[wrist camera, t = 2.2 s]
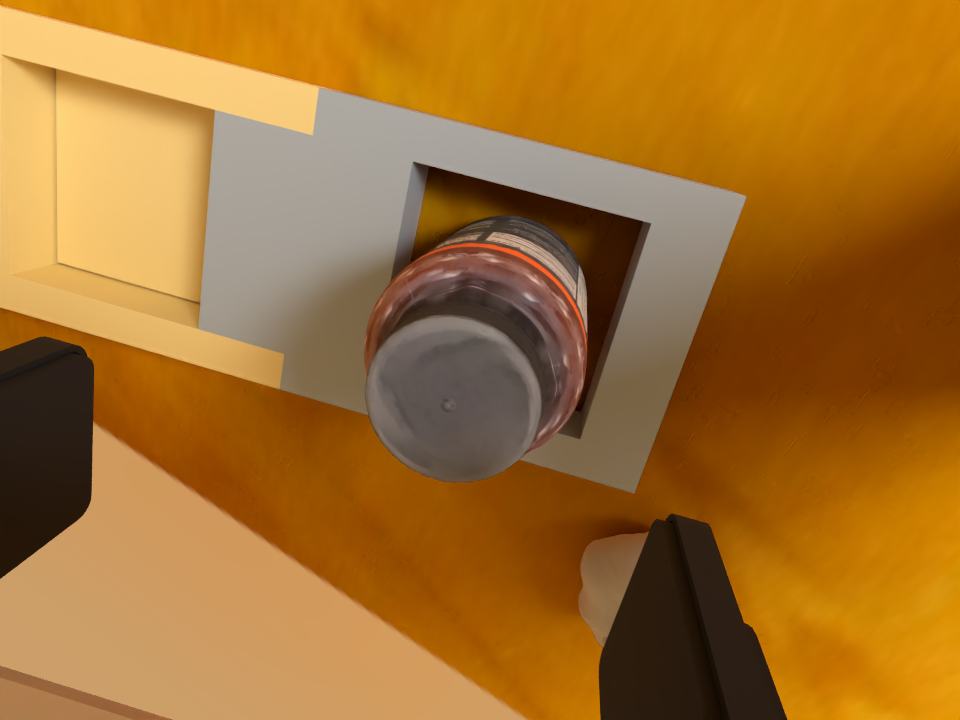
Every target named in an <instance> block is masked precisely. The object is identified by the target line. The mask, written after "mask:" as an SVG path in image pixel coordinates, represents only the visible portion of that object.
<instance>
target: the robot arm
mask: <svg viewBox="0 0 960 720" xmlns="http://www.w3.org/2000/svg"><path fill="white" fill-rule="evenodd" d="M93 394H94V365H93V362H92V360H91V359H89V358H88V357H87V354H86V352H85V350H84V349H83V348H82V347H81V346H78V345H74V344H70V343H67V342H63V341H60V340H56V339H53V338H49V337H39V338H36V339H33V340H31V341H28V342H25V343H22V344H20V345H17V346H14V347H11V348H9V349H6V350H3V351H0V578H2V577H3V576H5V575H6V574H7V573H8V572H10V571H11V570H12V569H14V568H15V567H17V566H18V565H19V564H20V563H22V562H23V561H24V560H26V559H27V558H28V557H30V556H31V555H32V554H34V553H35V552H36V551H37V550H39V549H40V548H41V547H43V546H44V545H45V544H47V543H48V542H49V541H51V540H52V539H53V538H55V537H56V536H57V535H59V534H60V533H61V532H62V531H64V530H65V529H66V528H68V527H69V526H70V525H72V524H73V523H74V522H76V521H77V520H78V519H79V518H80V517H81V516H83V514H84V513H85V512H86V510H87V508H88V506H89V504H90V501H91V490H92V442H93V440H92V439H93V437H92V436H93ZM599 690H600V713H601V720H787V717H786V715H785V712H784V709H783V706H782V704H781V701H780V698H779V695H778V693H777V690H776V687H775V685H774V682H773V679H772V676H771V674H770V671H769V668H768V665H767V663H766V660H765V657H764V654H763V652H762V649H761V646H760V644H759V641H758V638H757V636H756V634H755V632H754V630H753V628H752V627H750V626H749V625H748V624H745V623H744V622H743V619H742V616H741V613H740V610H739V607H738V604H737V601H736V599H735V596H734V593H733V590H732V587H731V584H730V581H729V579H728V576H727V573H726V570H725V567H724V564H723V561H722V559H721V556H720V553H719V550H718V547H717V544H716V541H715V539H714V536H713V533H712V530H711V527H710V526H709V524H707V523H704V522H700V521H697V520H693V519H690V518H686V517H683V516H679V515H675V514H670V515H669V516H668V518H667V519H666V521H663V520H659V519H656V520H655V521H654V522H653V524H652V526H651V528H650V531H649V533H648V536H647V538H646V541H645V543H644V546H643V548H642V551H641V553H640V556H639V559H638V561H637V564H636V566H635V569H634V571H633V574H632V576H631V579H630V581H629V584H628V586H627V589H626V591H625V594H624V597H623V599H622V602H621V604H620V607H619V609H618V612H617V614H616V617H615V619H614V622H613V624H612V627H611V629H610V632H609V635H608V637H607V640H606V642H605V645H604V647H603V650H602V654H601V658H600V664H599ZM0 720H171V719H168V718H165V717H161V716H158V715H155V714H152V713H148V712H146V711H142V710H139V709H136V708H133V707H130V706H127V705H124V704H120V703H117V702H114V701H111V700H108V699H104V698H101V697H98V696H95V695H92V694H88V693H85V692H82V691H79V690H76V689H73V688H69V687H66V686H63V685H60V684H56V683H53V682H50V681H47V680H43V679H41V678H37V677H34V676H31V675H28V674H24V673H21V672H18V671H15V670H12V669H9V668H6V667H2V666H0Z"/></svg>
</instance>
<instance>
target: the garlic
mask: <svg viewBox="0 0 960 720" xmlns="http://www.w3.org/2000/svg"><path fill="white" fill-rule="evenodd" d="M648 533H649V532H645V533H636V534H620V535H616V536H612V537H607V538H603V539H598V540H595V541H593V542H591V543H590V544H589V545H588V546H587V547H586V549H585V551H584V553H583V557H582V560H581V565H580V572H581V578H582V582H583V587H582V589H581V591H580V594H579V598H578V606H579V611H580V614H581V616H582V618H583V620H584V621H585V622H586V623H587V624H588V625H589V627H590V628H591V629H592V631H593V634H594V637H595V639H596V640H597V642H598V643H599V644H600V645H601V646H602V647H604V645H605V642H606V640H607V637H608V635H609V632H610V629H611V627H612V624H613V622H614V619H615V617H616V614H617V612H618V609H619V607H620V604H621V602H622V599H623V597H624V594H625V591H626V589H627V586H628V584H629V581H630V579H631V576H632V574H633V571H634V569H635V566H636V564H637V561H638V559H639V556H640V553H641V551H642V548H643V546H644V543H645V541H646V538H647V536H648Z"/></svg>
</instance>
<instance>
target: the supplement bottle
mask: <svg viewBox="0 0 960 720" xmlns="http://www.w3.org/2000/svg"><path fill="white" fill-rule="evenodd" d="M589 316H590V314H588V316H587V290H586V285H585V278H584V275H583V271H582V268H581V266H580V263H579V260H578V259H577V257H576V255H575V253H574V252H573V250H572V249H571V247H570V246H569V245H568V243H567V242H566V241H565V240H564V239H563V238H562V237H561V236H560V235H559V234H557V233H556V232H555V231H553V230H552V229H551V228H549V227H547V226H545V225H543V224H541V223H539V222H537V221H534V220H531V219H528V218H524V217H520V216H496V217H489V218H485V219H482V220H479V221H476V222H474V223H471V224H469V225H467V226H466V227H464V228H462V229H460V230H459V231H457V232H455V233H454V234H453V235H451V236H450V237H449V238H447V239H446V240H444V241H442V242H441V243H440V244H438V245H437V246H435V247H434V248H432V249H431V250H429V251H428V252H427V253H425V254H423V255H422V256H421V257H419V258H418V259H417V260H415V261H414V262H413V263H411V264H410V265H409V266H407V267H406V268H405V269H404V270H402V271H401V272H400V273H399V274H398V275H397V276H396V277H395V278H394V279H393V280H392V281H391V282H390V284H389V285H388V286H387V288H386V289H385V290H384V292H383V293H382V295H381V296H380V297H379V299H378V301H377V302H376V304H375V306H374V308H373V311H372V313H371V315H370V318H369V321H368V325H367V329H366V334H365V340H364V364H365V371H366V376H367V378H366V385H365V400H366V407H367V412H368V416H369V419H370V422H371V425H372V427H373V429H374V431H375V433H376V434H377V436H378V437H379V439H380V441H381V442H382V444H383V445H384V446H385V447H386V448H387V449H388V451H389V452H390V453H392V455H393V456H394V457H396V458H397V459H398V460H399V461H400V462H401V463H403V464H405V465H406V466H407V467H409V468H410V469H412V470H414V471H416V472H418V473H420V474H422V475H424V476H426V477H430V478H434V479H436V480H440V481H444V482H474V481H478V480H484V479H487V478H490V477H492V476H495V475H497V474H499V473H501V472H503V471H504V470H506V469H508V468H509V467H511V466H512V465H513V464H514V463H515V462H517V461H518V460H519V459H520V458H522V457H524V456H525V455H527V454H530V453H532V452H534V451H536V450H537V449H538V448H539V447H541V446H542V445H543V444H545V443H546V442H548V441H549V440H550V439H551V438H552V437H554V436H555V435H556V434H557V433H558V432H559V431H560V429H561V428H562V427H563V426H564V425H565V424H566V422H567V421H568V419H569V418H570V417H571V415H572V413H573V412H574V410H575V408H576V406H577V404H578V401H579V399H580V396H581V393H582V390H583V386H584V380H585V374H586V366H587V339H588V334H587V333H588V324H587V319H588V318H589Z"/></svg>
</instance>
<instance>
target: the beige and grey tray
mask: <svg viewBox="0 0 960 720" xmlns="http://www.w3.org/2000/svg"><path fill="white" fill-rule="evenodd" d="M429 166H433V167H436V168H440V169H444V170H448V171H452V172H456V173H460V174H463V175H467V176H471V177H475V178H479V179H483V180H486V181H490V182H494V183H498V184H502V185H506V186H509V187H513V188H517V189H521V190H525V191H529V192H533V193H536V194H540V195H544V196H548V197H552V198H556V199H559V200H563V201H567V202H571V203H575V204H579V205H583V206H586V207H590V208H594V209H598V210H602V211H606V212H609V213H613V214H617V215H621V216H625V217H629V218H633V219H636V220H640V221H643V224H642V227H641V230H640V233H639V236H638V239H637V242H636V245H635V248H634V251H633V254H632V258H631V261H630V264H629V267H628V270H627V273H626V276H625V279H624V282H623V285H622V288H621V291H620V295H619V298H618V301H617V304H616V307H615V310H614V313H613V316H612V319H611V322H610V325H609V328H608V332H607V335H606V338H605V341H604V344H603V347H602V350H601V353H600V356H599V359H598V362H597V365H596V369H595V372H594V375H593V378H592V381H591V384H590V387H589V390H588V393H587V396H586V399H585V402H584V405H583V409H582V412H579V411H576V410H574V412H573V413H572V415H571V417H570V418H569V419H568V421H567V422H566V424H565V425H564V426H563V427H562V428H561V429H560V431H559V432H558V433H557V434H556V435H555V436H554V437H552V438H551V439H550V440H549V441H548V442H546V443H545V444H543V445H542V446H541V447H539V448H538V449H537V450H536V451H534V452H532V453H530V454H527V455H525V456H524V457H522V458H520V459H519V460H521V461H525V462H528V463H532V464H535V465H538V466H542V467H545V468H549V469H552V470H555V471H559V472H562V473H566V474H569V475H573V476H576V477H579V478H583V479H586V480H590V481H593V482H596V483H600V484H603V485H607V486H610V487H613V488H617V489H620V490H624V491H627V492H630V493H634V494H635V491H636V488H637V486H638V483H639V480H640V478H641V475H642V472H643V470H644V467H645V464H646V462H647V459H648V456H649V454H650V451H651V449H652V446H653V443H654V441H655V438H656V435H657V433H658V430H659V427H660V425H661V422H662V419H663V417H664V414H665V412H666V409H667V406H668V404H669V401H670V398H671V396H672V393H673V390H674V388H675V385H676V382H677V380H678V377H679V374H680V372H681V369H682V367H683V364H684V361H685V359H686V356H687V353H688V351H689V348H690V345H691V343H692V340H693V337H694V335H695V332H696V329H697V327H698V324H699V322H700V319H701V316H702V314H703V311H704V308H705V306H706V303H707V300H708V298H709V295H710V292H711V290H712V287H713V284H714V282H715V279H716V277H717V274H718V271H719V269H720V266H721V263H722V261H723V258H724V255H725V253H726V250H727V247H728V245H729V242H730V240H731V237H732V234H733V232H734V229H735V226H736V224H737V221H738V218H739V216H740V213H741V210H742V208H743V205H744V202H745V200H746V197H747V196H745V195H742V194H740V193H737V192H734V191H731V190H728V189H724V188H720V187H716V186H712V185H708V184H704V183H700V182H696V181H692V180H688V179H684V178H681V177H677V176H673V175H669V174H665V173H661V172H657V171H653V170H649V169H645V168H641V167H637V166H633V165H629V164H625V163H621V162H617V161H614V160H610V159H606V158H602V157H598V156H594V155H590V154H586V153H582V152H578V151H574V150H570V149H566V148H562V147H558V146H554V145H550V144H546V143H543V142H539V141H535V140H531V139H527V138H523V137H519V136H515V135H511V134H507V133H503V132H499V131H495V130H491V129H487V128H483V127H479V126H476V125H472V124H468V123H464V122H460V121H456V120H452V119H448V118H444V117H440V116H436V115H432V114H428V113H424V112H420V111H416V110H412V109H408V108H405V107H401V106H397V105H393V104H389V103H385V102H381V101H377V100H373V99H369V98H365V97H361V96H357V95H353V94H349V93H345V92H341V91H338V90H334V89H330V88H326V87H322V86H318V85H314V84H310V83H306V82H302V81H298V80H294V79H290V78H286V77H282V76H278V75H274V74H270V73H267V72H263V71H259V70H255V69H251V68H247V67H243V66H239V65H235V64H231V63H227V62H223V61H219V60H215V59H211V58H207V57H203V56H199V55H196V54H192V53H188V52H184V51H180V50H176V49H172V48H168V47H164V46H160V45H156V44H152V43H148V42H144V41H140V40H136V39H132V38H129V37H125V36H121V35H117V34H113V33H109V32H105V31H101V30H97V29H93V28H89V27H85V26H81V25H77V24H73V23H69V22H65V21H61V20H58V19H54V18H50V17H46V16H42V15H38V14H34V13H30V12H26V11H22V10H18V9H14V8H10V7H6V6H2V5H0V307H1V308H4V309H8V310H11V311H14V312H18V313H21V314H25V315H28V316H31V317H35V318H38V319H42V320H45V321H48V322H52V323H55V324H59V325H62V326H65V327H69V328H72V329H76V330H79V331H82V332H86V333H89V334H93V335H96V336H99V337H103V338H106V339H110V340H113V341H116V342H120V343H123V344H127V345H130V346H133V347H137V348H140V349H144V350H147V351H150V352H154V353H157V354H161V355H164V356H168V357H171V358H174V359H178V360H181V361H185V362H188V363H191V364H195V365H198V366H202V367H205V368H208V369H212V370H215V371H219V372H222V373H225V374H229V375H232V376H236V377H239V378H242V379H246V380H249V381H253V382H256V383H259V384H263V385H266V386H270V387H273V388H276V389H280V390H283V391H287V392H290V393H293V394H297V395H300V396H304V397H307V398H310V399H314V400H317V401H321V402H324V403H327V404H331V405H334V406H338V407H341V408H344V409H348V410H351V411H355V412H358V413H362V414H365V415H368V412H367V407H366V400H365V385H366V378H367V376H366V371H365V364H364V340H365V334H366V329H367V325H368V321H369V318H370V315H371V313H372V311H373V308H374V306H375V304H376V302H377V301H378V299H379V297H380V296H381V295H382V293H383V292H384V290H385V289H386V288H387V286H388V285H389V284H390V282H391V281H392V280H393V279H394V278H395V277H396V276H397V275H398V274H399V273H400V272H401V271H402V270H404V269H405V268H406V267H407V266H409V265H410V263H411V258H412V252H413V247H414V242H415V237H416V232H417V227H418V222H419V217H420V212H421V207H422V202H423V197H424V192H425V186H426V181H427V176H428V171H429ZM61 263H62V264H61ZM65 264H66V265H65ZM68 265H69V266H68ZM72 266H73V267H72ZM75 267H76V268H75ZM79 268H80V269H79ZM82 269H83V270H82ZM86 270H87V271H86ZM89 271H90V272H89ZM93 272H94V273H93ZM96 273H97V274H96ZM100 274H101V275H100ZM103 275H104V276H103ZM107 276H108V277H107ZM110 277H111V278H110ZM114 278H115V279H114ZM117 279H118V280H117ZM121 280H122V281H121ZM124 281H125V282H124ZM128 282H129V283H128ZM131 283H132V284H131ZM135 284H136V285H135ZM138 285H139V286H138ZM142 286H143V287H142ZM145 287H146V288H145ZM149 288H150V289H149ZM152 289H153V290H152ZM156 290H157V291H156ZM159 291H160V292H159ZM163 292H164V293H163ZM166 293H167V294H166ZM170 294H171V295H170ZM173 295H174V296H173ZM177 296H178V297H177ZM180 297H181V298H180ZM184 298H185V299H184ZM187 299H188V300H187ZM191 300H192V301H191ZM194 301H195V302H194ZM198 302H199V303H198Z"/></svg>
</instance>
